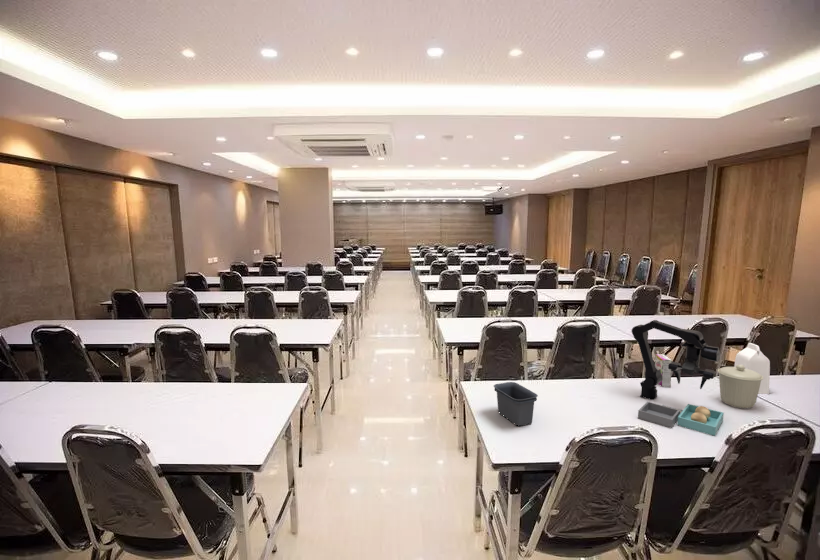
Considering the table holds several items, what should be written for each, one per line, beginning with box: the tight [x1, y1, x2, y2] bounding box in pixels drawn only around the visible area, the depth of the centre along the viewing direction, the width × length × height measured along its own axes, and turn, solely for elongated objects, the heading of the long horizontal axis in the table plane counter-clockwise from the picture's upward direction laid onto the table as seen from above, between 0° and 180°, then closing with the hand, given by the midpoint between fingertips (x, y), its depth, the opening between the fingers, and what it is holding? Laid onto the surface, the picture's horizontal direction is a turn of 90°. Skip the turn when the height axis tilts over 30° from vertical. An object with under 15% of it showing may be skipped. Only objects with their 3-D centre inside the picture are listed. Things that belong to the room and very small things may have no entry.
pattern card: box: [661, 404, 684, 414], centre depth 199 cm, size 9×6×1 cm, turn 44°
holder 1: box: [637, 401, 680, 429], centre depth 191 cm, size 14×14×4 cm
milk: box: [733, 342, 771, 395], centre depth 222 cm, size 12×12×26 cm
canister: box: [717, 364, 763, 409], centre depth 204 cm, size 18×18×21 cm
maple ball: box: [695, 405, 711, 419], centre depth 189 cm, size 6×6×6 cm
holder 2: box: [676, 403, 725, 437], centre depth 186 cm, size 14×20×4 cm
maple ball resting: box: [691, 412, 707, 424], centre depth 182 cm, size 6×6×6 cm
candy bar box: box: [654, 353, 673, 388], centre depth 232 cm, size 11×5×16 cm, turn 168°
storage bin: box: [493, 381, 539, 427], centre depth 193 cm, size 21×16×14 cm
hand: (689, 386), depth 200 cm, fingers open, 9 cm apart
